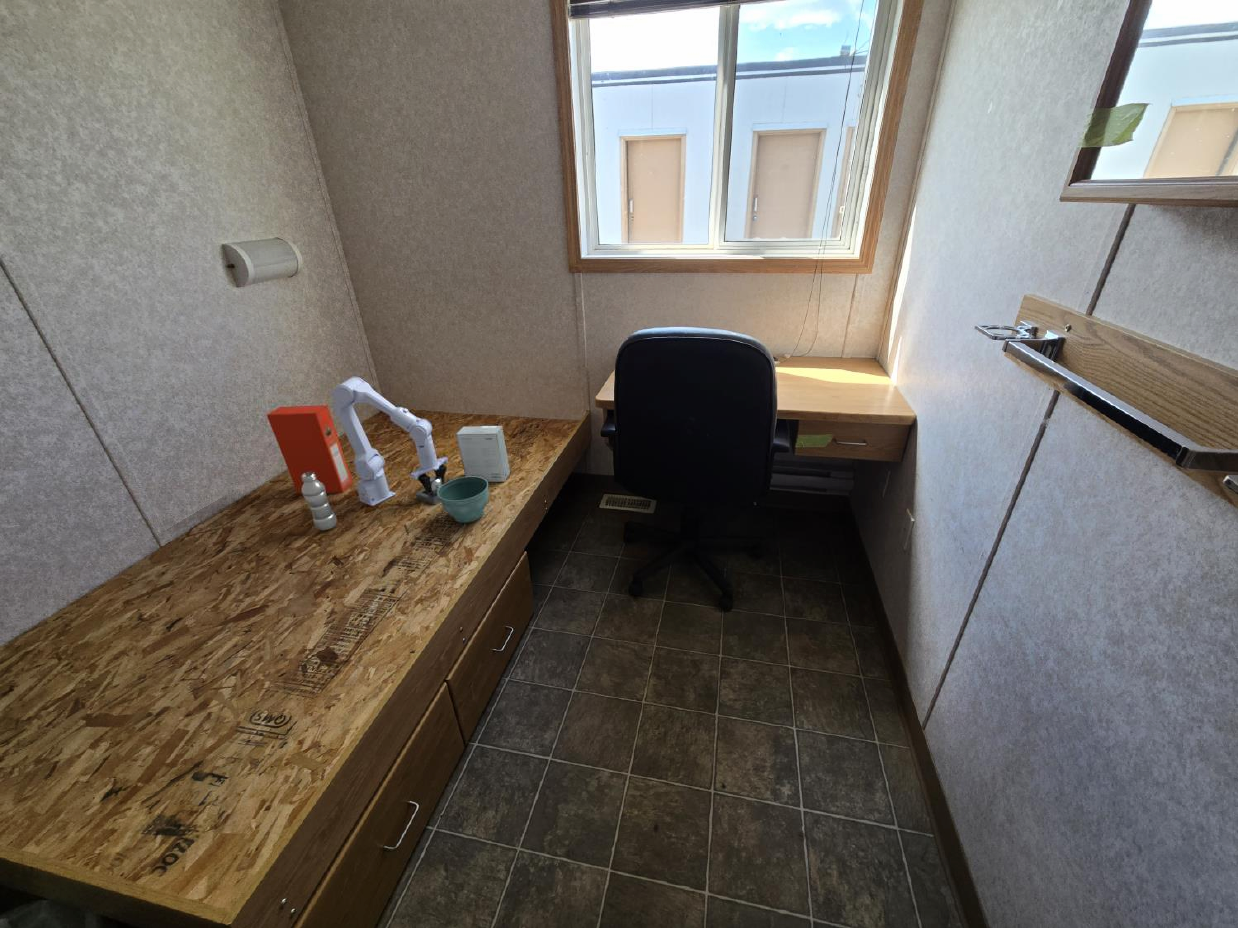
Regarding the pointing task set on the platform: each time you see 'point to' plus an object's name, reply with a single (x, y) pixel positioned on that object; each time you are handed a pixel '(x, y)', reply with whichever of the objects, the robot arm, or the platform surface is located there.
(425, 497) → the grey rectangular frame
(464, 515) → the flower pot
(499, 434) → the hard drive box
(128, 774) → the platform surface
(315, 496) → the plastic bottle
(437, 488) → the shiny metal cylinder
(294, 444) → the file binder
